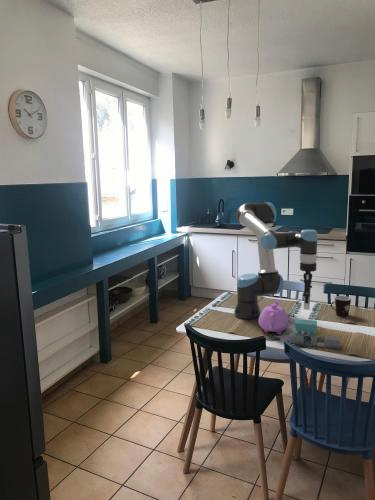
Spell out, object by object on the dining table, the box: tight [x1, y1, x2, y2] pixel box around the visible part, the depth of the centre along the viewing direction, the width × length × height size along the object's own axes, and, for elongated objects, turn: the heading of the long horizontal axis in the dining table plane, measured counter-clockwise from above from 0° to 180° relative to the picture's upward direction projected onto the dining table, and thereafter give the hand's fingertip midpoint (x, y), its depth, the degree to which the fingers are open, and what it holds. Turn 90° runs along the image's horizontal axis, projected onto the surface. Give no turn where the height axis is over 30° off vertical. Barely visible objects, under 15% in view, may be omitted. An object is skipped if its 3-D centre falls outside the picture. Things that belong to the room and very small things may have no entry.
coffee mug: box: [330, 295, 352, 318], centre depth 218 cm, size 12×9×10 cm
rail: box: [289, 332, 341, 350], centre depth 181 cm, size 22×4×4 cm, turn 71°
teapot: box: [258, 298, 290, 335], centre depth 200 cm, size 22×16×14 cm
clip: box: [294, 318, 318, 339], centre depth 190 cm, size 10×6×8 cm, turn 71°
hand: (307, 305), depth 188 cm, fingers open, 13 cm apart
